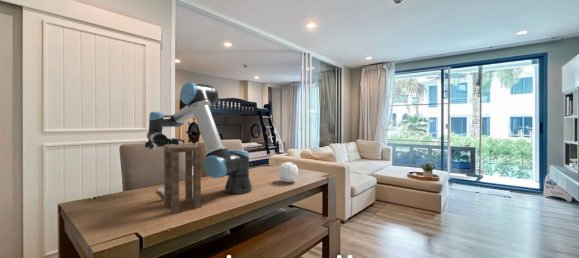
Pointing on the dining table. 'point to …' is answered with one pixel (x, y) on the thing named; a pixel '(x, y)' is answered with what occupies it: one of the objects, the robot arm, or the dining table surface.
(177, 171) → the plant stand
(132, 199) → the dining table surface
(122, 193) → the dining table surface
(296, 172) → the geodesic sphere
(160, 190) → the shelf bracket
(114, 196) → the dining table surface
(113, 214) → the dining table surface
